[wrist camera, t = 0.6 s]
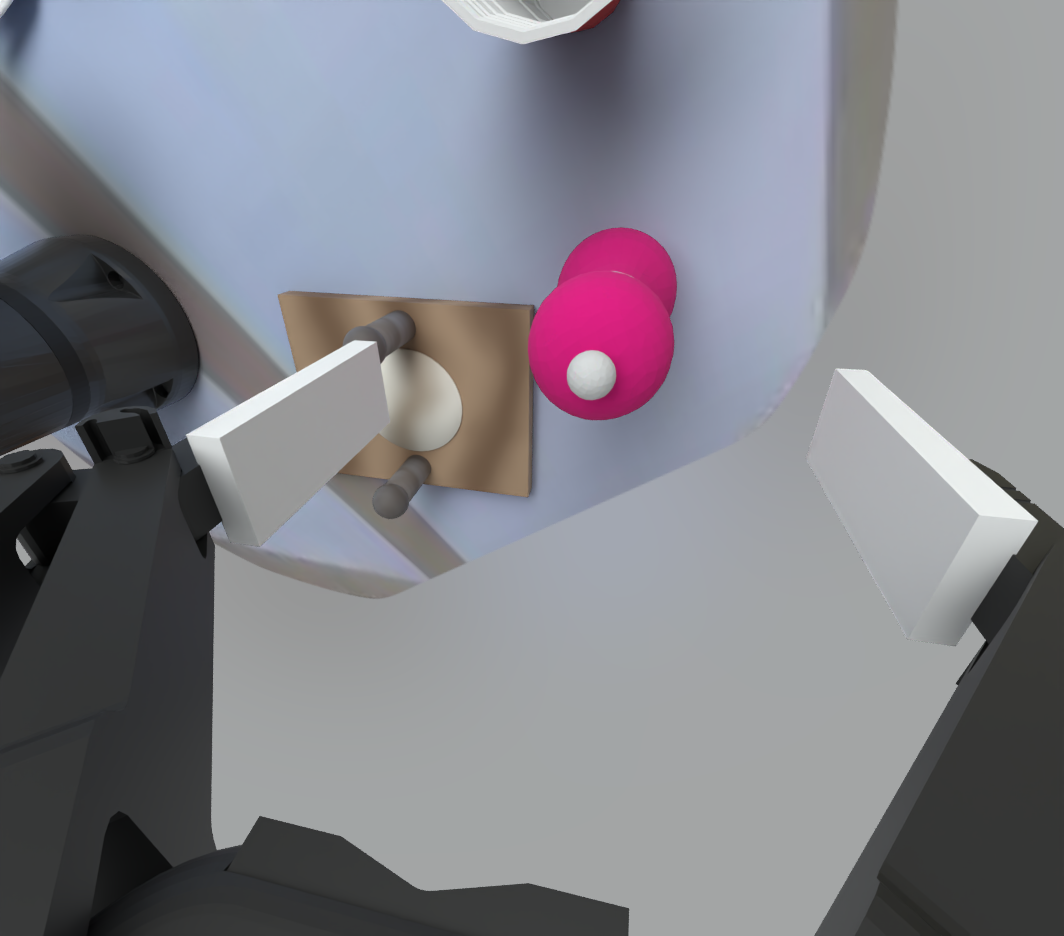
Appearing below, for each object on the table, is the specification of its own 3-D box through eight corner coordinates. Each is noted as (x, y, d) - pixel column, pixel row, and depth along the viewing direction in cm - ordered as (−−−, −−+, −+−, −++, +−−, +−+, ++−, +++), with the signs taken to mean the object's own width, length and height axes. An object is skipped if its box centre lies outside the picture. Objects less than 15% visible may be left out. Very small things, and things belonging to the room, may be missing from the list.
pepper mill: (687, 310, 34) (723, 443, 17) (589, 347, 36) (537, 493, 20) (655, 201, 31) (660, 232, 14) (551, 250, 34) (452, 324, 17)
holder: (330, 463, 47) (273, 513, 40) (289, 290, 39) (210, 316, 32) (531, 487, 44) (508, 547, 37) (534, 305, 36) (505, 337, 29)
